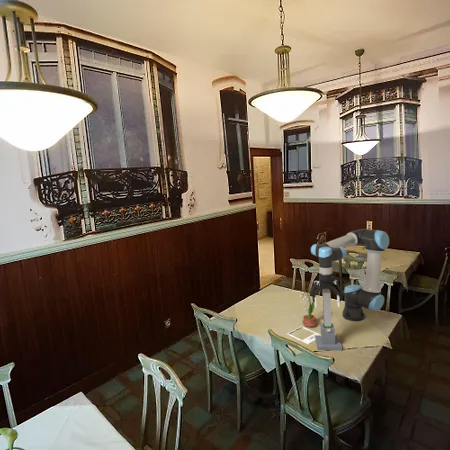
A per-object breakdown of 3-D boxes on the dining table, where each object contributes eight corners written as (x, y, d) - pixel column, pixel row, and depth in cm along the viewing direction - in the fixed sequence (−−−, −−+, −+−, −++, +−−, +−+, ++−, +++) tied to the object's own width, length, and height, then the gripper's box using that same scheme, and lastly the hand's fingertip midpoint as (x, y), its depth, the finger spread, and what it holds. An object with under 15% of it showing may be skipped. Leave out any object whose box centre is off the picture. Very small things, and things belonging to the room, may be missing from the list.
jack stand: (337, 338, 205) (337, 320, 203) (342, 350, 191) (341, 331, 189) (315, 338, 207) (314, 320, 205) (317, 350, 193) (317, 331, 192)
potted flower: (304, 330, 219) (303, 295, 215) (297, 323, 228) (296, 290, 224) (320, 326, 222) (319, 292, 218) (312, 320, 231) (311, 287, 227)
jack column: (330, 327, 199) (329, 288, 195) (331, 330, 195) (330, 291, 191) (323, 327, 200) (322, 288, 196) (324, 330, 196) (323, 291, 192)
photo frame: (308, 343, 200) (286, 333, 215) (308, 345, 201) (287, 334, 215) (323, 335, 209) (301, 325, 223) (323, 336, 209) (301, 327, 224)
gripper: (346, 270, 194) (346, 303, 197) (304, 271, 198) (305, 304, 201) (349, 274, 186) (349, 308, 190) (305, 275, 190) (306, 309, 194)
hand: (326, 306), depth 195 cm, fingers open, 13 cm apart
